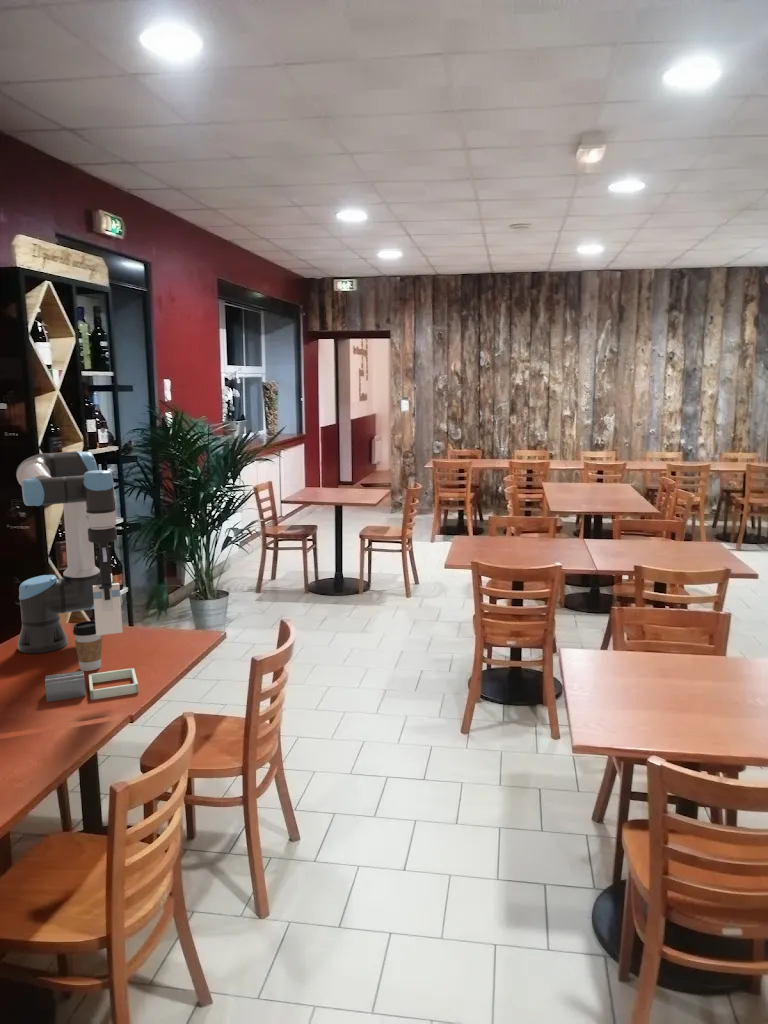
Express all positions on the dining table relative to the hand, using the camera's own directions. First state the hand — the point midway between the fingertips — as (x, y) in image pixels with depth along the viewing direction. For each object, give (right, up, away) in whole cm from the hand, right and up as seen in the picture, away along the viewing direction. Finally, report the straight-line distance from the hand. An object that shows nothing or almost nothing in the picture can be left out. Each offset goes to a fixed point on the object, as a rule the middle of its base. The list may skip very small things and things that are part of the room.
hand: (107, 609), depth 219 cm
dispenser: (-11, -25, -1) cm, 27 cm away
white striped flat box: (0, -7, +1) cm, 7 cm away
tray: (0, -24, +4) cm, 24 cm away
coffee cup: (-12, -21, +20) cm, 32 cm away
